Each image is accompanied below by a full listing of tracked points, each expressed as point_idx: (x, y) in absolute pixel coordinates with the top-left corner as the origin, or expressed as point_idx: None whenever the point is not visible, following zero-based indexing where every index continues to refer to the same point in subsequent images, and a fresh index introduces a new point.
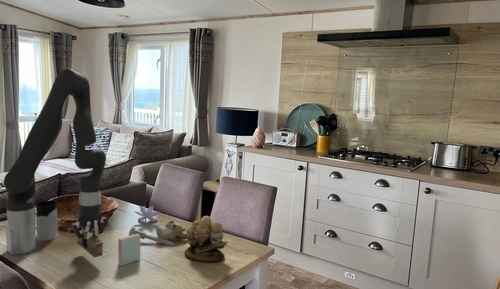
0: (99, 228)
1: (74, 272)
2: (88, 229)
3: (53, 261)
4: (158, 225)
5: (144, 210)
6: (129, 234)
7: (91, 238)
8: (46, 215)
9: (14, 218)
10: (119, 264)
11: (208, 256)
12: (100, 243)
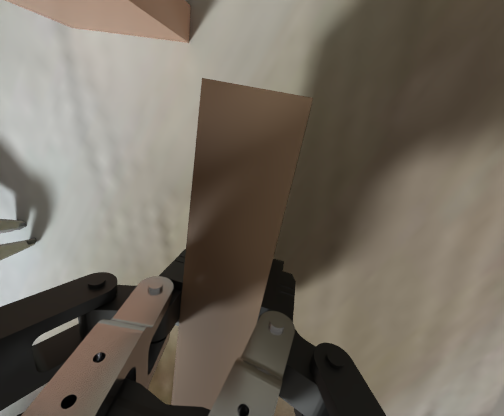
0: (77, 345)
1: (416, 154)
2: (221, 403)
3: (379, 332)
4: None
5: None
6: (3, 255)
7: (230, 274)
8: None
9: None
10: (188, 25)
11: None
12: (233, 86)
